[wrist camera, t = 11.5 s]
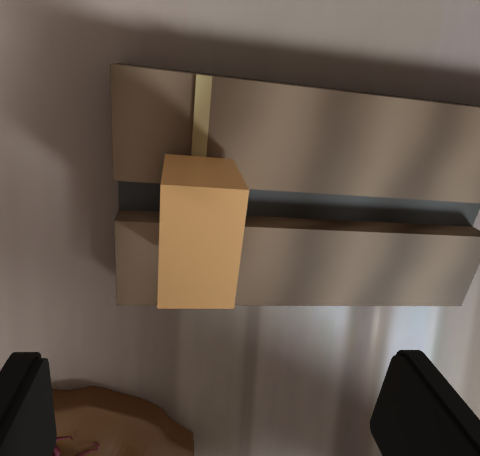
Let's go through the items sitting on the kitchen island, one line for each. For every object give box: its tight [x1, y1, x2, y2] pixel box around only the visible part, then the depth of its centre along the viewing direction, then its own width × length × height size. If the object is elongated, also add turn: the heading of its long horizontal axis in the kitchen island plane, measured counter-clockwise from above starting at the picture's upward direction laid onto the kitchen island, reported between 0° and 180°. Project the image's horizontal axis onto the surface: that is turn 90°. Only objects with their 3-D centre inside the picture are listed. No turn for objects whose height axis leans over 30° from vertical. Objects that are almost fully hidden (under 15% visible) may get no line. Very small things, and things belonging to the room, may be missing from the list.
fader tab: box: [157, 154, 249, 309], centre depth 19 cm, size 4×6×7 cm, turn 173°
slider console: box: [110, 63, 480, 306], centre depth 24 cm, size 25×14×3 cm, turn 83°
